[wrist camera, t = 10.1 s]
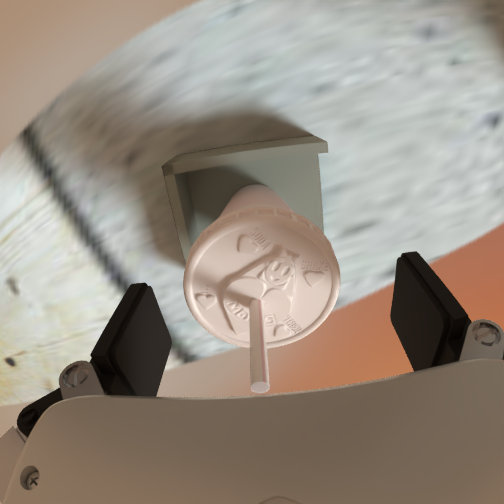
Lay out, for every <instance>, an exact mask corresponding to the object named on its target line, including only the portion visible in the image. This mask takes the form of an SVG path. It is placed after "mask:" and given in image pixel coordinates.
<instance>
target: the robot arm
mask: <svg viewBox="0 0 504 504" xmlns="http://www.w3.org/2000/svg"><path fill="white" fill-rule="evenodd" d="M390 316H391V322H392V325H393V327H394V329H395V331H396V333H397V335H398V337H399V339H400V341H401V343H402V346H403V348H404V350H405V352H406V354H407V357H408V358H409V361H410V363H411V365H412V368H413V370H414V372H410V373H406V374H401V375H396V376H391V377H387V378H382V379H377V380H372V381H366V382H360V383H355V384H349V385H342V386H336V387H329V388H322V389H314V390H306V391H297V392H287V393H277V394H265V395H250V396H230V397H156V395H157V392H158V389H159V385H160V382H161V379H162V375H163V372H164V369H165V365H166V362H167V359H168V356H169V352H170V349H171V345H172V341H171V337H170V334H169V332H168V329H167V326H166V324H165V321H164V319H163V316H162V314H161V311H160V308H159V306H158V303H157V300H156V297H155V295H154V292H153V289H152V287H151V286H148V285H147V284H146V283H136V284H131V285H130V287H129V288H128V290H127V291H126V293H125V295H124V296H123V298H122V300H121V301H120V303H119V305H118V307H117V308H116V310H115V312H114V313H113V315H112V317H111V319H110V320H109V322H108V324H107V326H106V327H105V329H104V331H103V333H102V334H101V336H100V338H99V340H98V342H97V343H96V345H95V347H94V349H93V351H92V353H91V354H90V356H91V357H92V359H91V360H90V362H87V361H77V362H74V363H72V364H70V365H68V366H67V367H66V368H65V369H64V370H63V371H62V373H61V374H60V377H59V385H60V388H58V389H56V390H55V391H53V392H51V393H49V394H48V395H46V396H44V397H42V398H40V399H39V400H37V401H35V402H33V403H32V404H30V405H28V406H27V407H25V408H24V409H23V410H22V411H21V413H20V414H19V416H18V419H17V426H18V427H17V428H14V427H12V428H11V429H9V430H8V431H7V432H6V433H5V434H4V435H3V436H2V437H1V438H0V500H1V502H2V504H504V332H503V330H502V328H501V327H500V326H499V325H497V324H496V323H494V322H492V321H490V320H485V319H480V320H476V321H473V322H471V320H470V319H469V317H468V315H467V313H466V312H465V310H464V309H463V308H462V307H461V305H460V304H459V303H458V301H457V300H456V299H455V297H454V296H453V295H452V293H451V292H450V291H449V290H448V288H447V287H446V286H445V284H444V283H443V282H442V281H441V280H440V278H439V277H438V276H437V275H436V274H435V272H434V271H433V270H432V269H431V267H430V266H429V265H428V264H427V263H426V261H425V260H424V259H423V258H422V257H421V256H420V254H419V253H418V252H416V251H415V252H407V253H402V255H401V257H399V258H398V259H397V265H396V275H395V284H394V293H393V300H392V307H391V315H390Z"/></svg>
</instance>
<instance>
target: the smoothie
mask: <svg viewBox="0 0 504 504" xmlns="http://www.w3.org/2000/svg"><path fill="white" fill-rule="evenodd" d="M183 288H184V295H185V299H186V302H187V305H188V307H189V310H190V311H191V313H192V315H193V316H194V318H195V319H196V320H197V321H198V323H199V324H200V325H201V326H202V327H203V328H204V329H205V330H207V331H208V332H209V333H211V334H212V335H214V336H215V337H217V338H219V339H221V340H223V341H225V342H227V343H230V344H233V345H237V346H241V347H247V348H250V378H251V390H252V391H253V392H256V393H264V392H266V391H268V390H269V388H270V387H269V373H268V360H267V348H272V347H278V346H282V345H286V344H289V343H292V342H295V341H297V340H299V339H301V338H303V337H305V336H306V335H308V334H309V333H311V332H312V331H314V330H315V329H316V328H317V327H318V326H320V325H321V324H322V323H323V321H324V320H325V319H326V318H327V317H328V315H329V314H330V312H331V311H332V309H333V307H334V305H335V303H336V301H337V298H338V294H339V290H340V270H339V265H338V262H337V259H336V257H335V254H334V251H333V248H332V246H331V243H330V242H329V240H328V239H327V238H326V236H325V235H324V233H323V232H322V231H321V229H320V228H319V227H317V226H316V225H315V224H313V223H312V222H311V221H309V220H308V219H307V218H305V217H304V216H302V215H300V214H297V213H295V212H294V211H293V210H292V209H291V208H290V207H289V206H288V205H287V204H286V203H285V202H284V201H283V200H282V199H281V197H280V196H279V195H278V194H277V193H276V192H275V191H274V190H272V189H271V188H269V187H267V186H264V185H258V184H253V185H248V186H245V187H243V188H241V189H240V190H238V191H237V192H236V193H235V194H234V195H233V197H232V198H231V200H230V201H229V203H228V204H227V206H226V207H225V209H224V210H223V212H222V214H221V215H220V217H219V218H218V219H217V220H216V221H214V222H213V223H212V224H211V225H209V226H208V227H207V228H206V229H205V230H203V231H202V232H201V234H200V235H199V237H198V238H197V240H196V241H195V243H194V244H193V245H192V247H191V249H190V252H189V256H188V259H187V262H186V268H185V272H184V280H183Z"/></svg>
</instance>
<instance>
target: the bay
mask: <svg viewBox="0 0 504 504" xmlns="http://www.w3.org/2000/svg"><path fill="white" fill-rule="evenodd" d="M318 153H328V144H327V142H326V141H324V140H322V139H320V138H318V137H316V136H306V137H296V138H287V139H278V140H270V141H262V142H255V143H248V144H241V145H234V146H228V147H222V148H216V149H210V150H204V151H199V152H193V153H188V154H183V155H178V156H175V157H174V158H172V159H171V160H170V161H168V162H167V163H165V164H164V165H163V166H162V169H163V174H164V178H165V183H166V187H167V191H168V196H169V200H170V204H171V208H172V213H173V217H174V221H175V225H176V229H177V233H178V237H179V240H180V244H181V248H182V252H183V256H184V259H185V263H186V262H187V259H188V256H189V252H190V249H191V247H192V245H193V244H194V243H195V241H196V240H197V238H198V237H199V235H200V234H201V232H202V231H203V230H205V229H206V228H207V227H208V226H209V225H211V224H212V223H213V222H214V221H216V220H217V219H218V218H219V217H220V215H221V214H222V212H223V210H224V209H225V207H226V206H227V204H228V203H229V201H230V200H231V198H232V197H233V195H234V194H235V193H236V192H237V191H238V190H240V189H241V188H243V187H245V186H248V185H253V184H258V185H264V186H267V187H269V188H271V189H272V190H274V191H275V192H276V193H277V194H278V195H279V196H280V197H281V199H282V200H283V201H284V202H285V203H286V204H287V205H288V206H289V207H290V208H291V209H292V210H293V211H294V212H295V213H297V214H300V215H302V216H304V217H305V218H307V219H308V220H309V221H311V222H312V223H313V224H315V225H316V226H317V227H319V228H320V229H321V231H322V232H323V233H324V227H323V210H322V195H321V182H320V170H319V159H318Z"/></svg>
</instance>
